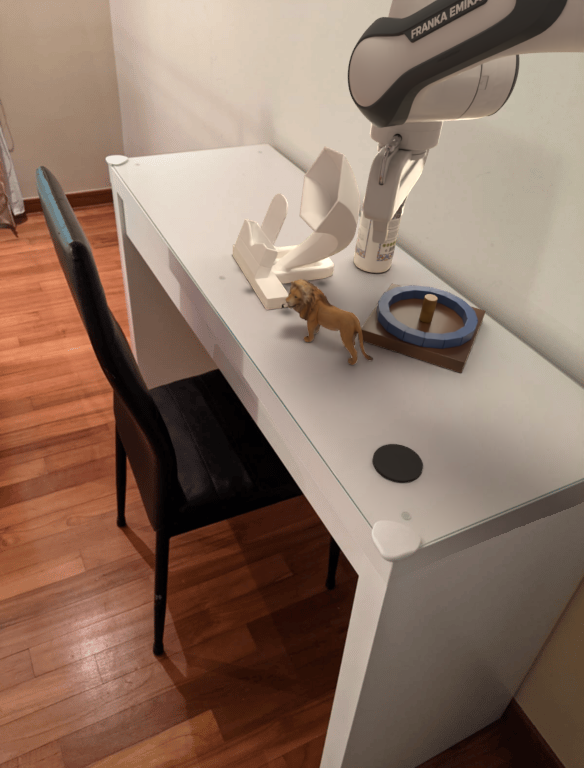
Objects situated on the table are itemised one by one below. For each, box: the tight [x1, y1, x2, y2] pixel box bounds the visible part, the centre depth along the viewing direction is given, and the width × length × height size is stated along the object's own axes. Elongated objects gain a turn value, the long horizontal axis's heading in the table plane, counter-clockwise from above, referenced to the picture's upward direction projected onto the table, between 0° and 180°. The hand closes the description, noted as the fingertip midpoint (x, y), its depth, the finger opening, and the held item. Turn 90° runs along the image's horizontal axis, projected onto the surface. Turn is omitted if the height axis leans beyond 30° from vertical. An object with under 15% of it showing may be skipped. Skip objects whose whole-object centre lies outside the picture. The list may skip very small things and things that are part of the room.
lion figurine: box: [285, 279, 374, 366], centre depth 88 cm, size 15×5×9 cm, turn 60°
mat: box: [372, 443, 424, 484], centre depth 73 cm, size 6×6×1 cm
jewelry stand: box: [232, 146, 361, 311], centre depth 96 cm, size 25×16×25 cm, turn 21°
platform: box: [357, 282, 487, 374], centre depth 94 cm, size 16×16×6 cm
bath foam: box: [353, 196, 402, 274], centre depth 105 cm, size 7×7×20 cm
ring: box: [376, 284, 478, 349], centre depth 95 cm, size 15×15×2 cm
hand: (387, 228), depth 86 cm, fingers open, 8 cm apart
